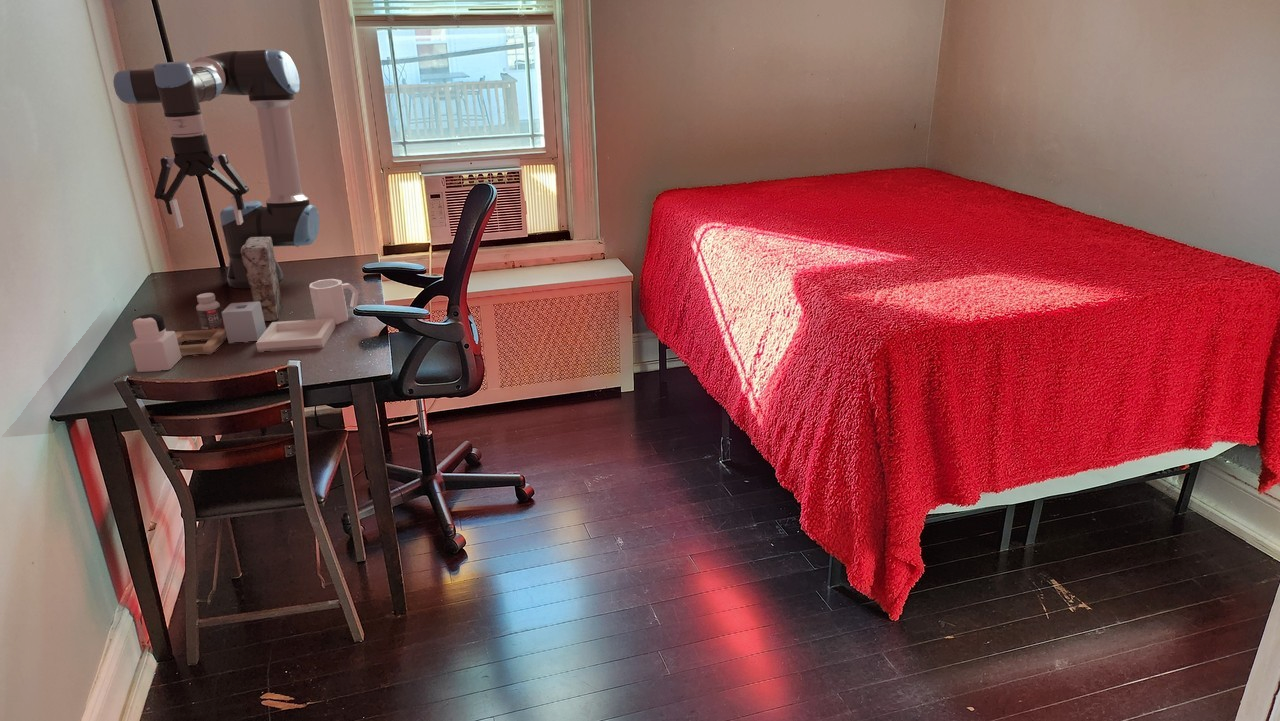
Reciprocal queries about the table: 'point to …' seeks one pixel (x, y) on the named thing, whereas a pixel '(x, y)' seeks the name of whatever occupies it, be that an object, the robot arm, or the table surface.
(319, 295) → the mug
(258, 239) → the stone block
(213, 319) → the pill bottle
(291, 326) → the tray
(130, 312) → the table surface
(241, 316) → the blue-grey block
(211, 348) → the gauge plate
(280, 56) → the robot arm
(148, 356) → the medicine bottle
